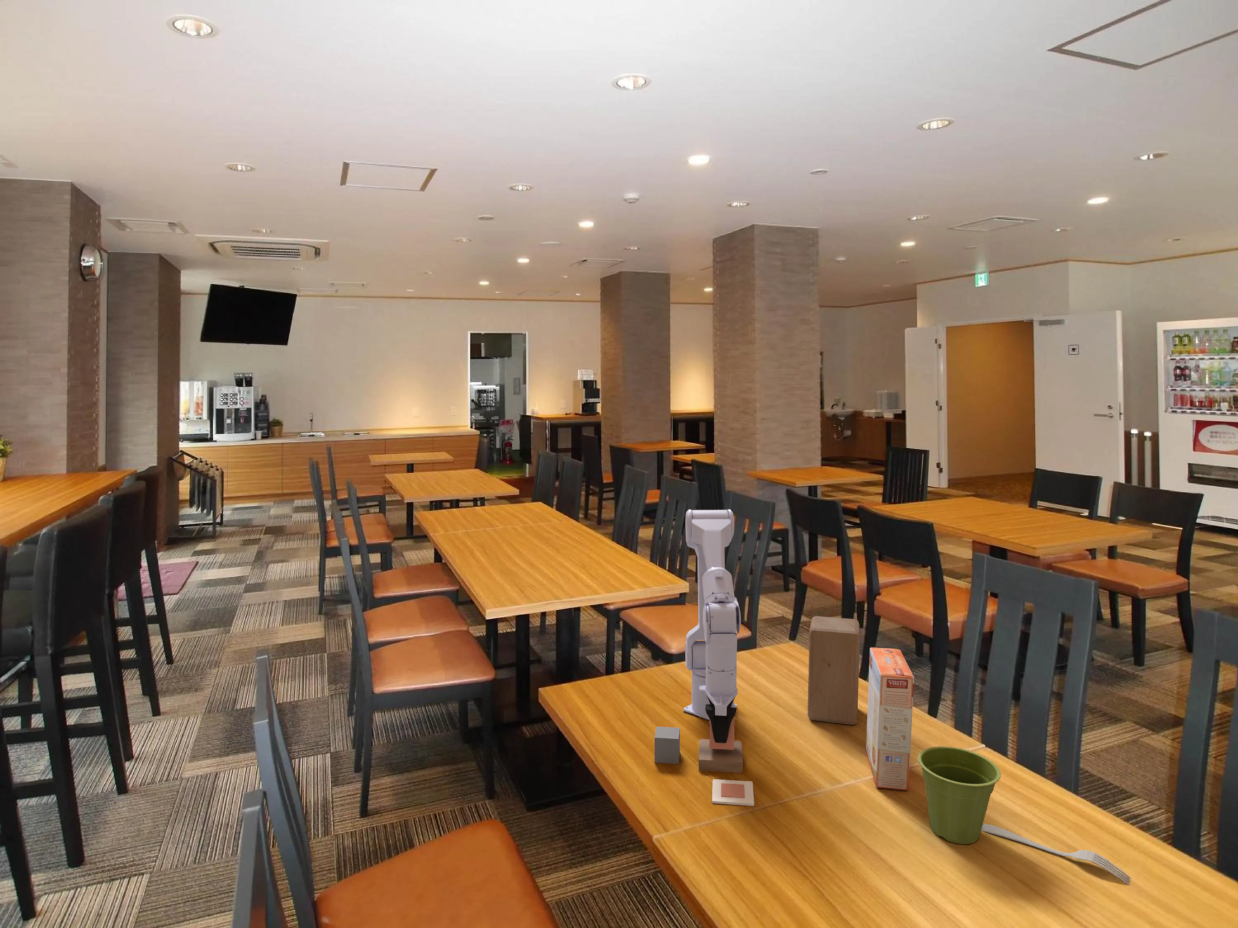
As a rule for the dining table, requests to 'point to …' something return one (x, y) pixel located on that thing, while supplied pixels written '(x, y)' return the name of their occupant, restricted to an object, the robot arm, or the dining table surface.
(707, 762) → the walnut base block
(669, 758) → the charcoal block
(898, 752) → the cracker box
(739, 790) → the card
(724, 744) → the brick red block
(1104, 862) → the fork
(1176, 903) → the dining table surface
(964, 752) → the plant pot
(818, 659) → the wooden block
